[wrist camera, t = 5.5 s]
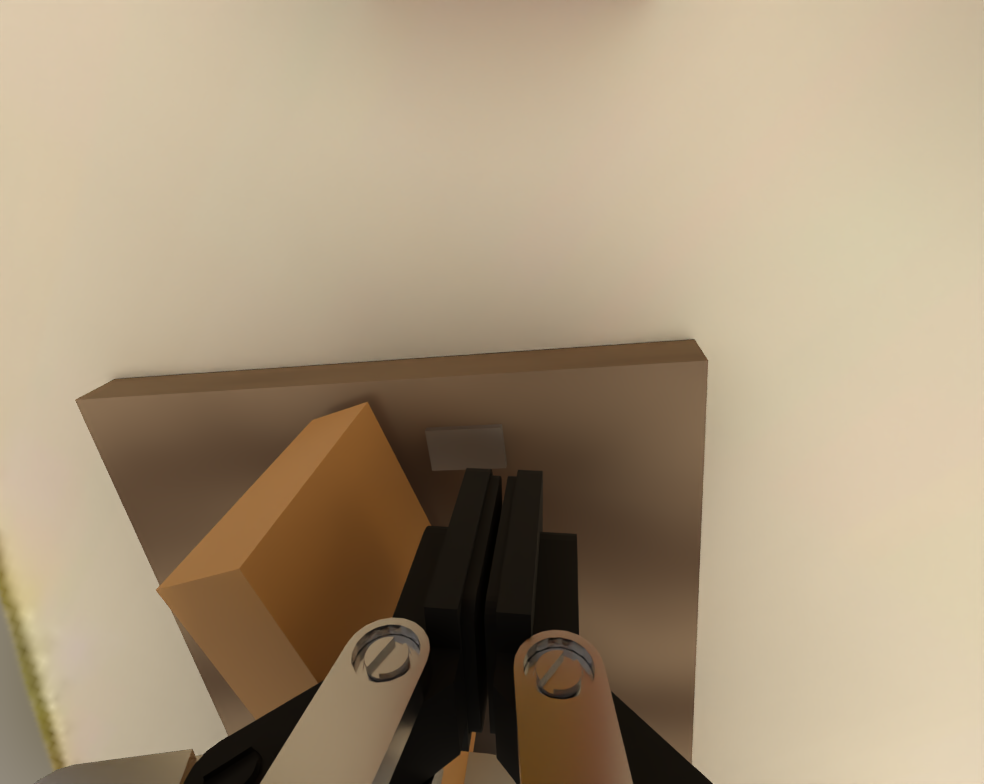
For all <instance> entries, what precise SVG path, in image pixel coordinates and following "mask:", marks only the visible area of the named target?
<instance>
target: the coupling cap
mask: <svg viewBox="0 0 984 784" xmlns="http://www.w3.org/2000/svg"><path fill="white" fill-rule="evenodd" d="M427 526H431V524H430V522H429V520H428V518H427V516H426V514H425V512H424V510H423V508H422V507H421V505H420V503H419V501H418V499H417V497H416V495H415V493H414V491H413V489H412V487H411V485H410V483H409V481H408V479H407V477H406V475H405V473H404V472H403V470H402V468H401V466H400V464H399V462H398V460H397V458H396V456H395V454H394V452H393V450H392V448H391V446H390V444H389V442H388V440H387V438H386V437H385V435H384V433H383V431H382V429H381V427H380V425H379V423H378V421H377V419H376V417H375V415H374V413H373V411H372V409H371V407H370V405H369V403H368V402H365V403H362V404H359V405H356V406H353V407H350V408H347V409H344V410H341V411H338V412H335V413H332V414H329V415H326V416H323V417H320V418H317V419H314V420H312V421H311V422H310V423H309V424H308V425H307V426H306V427H305V428H304V429H303V430H302V432H301V433H300V434H299V435H298V436H297V437H296V438H295V439H294V440H293V441H292V442H291V444H290V445H289V446H288V447H287V448H286V449H285V450H284V451H283V452H282V453H281V454H280V456H279V457H278V458H277V459H276V460H275V461H274V462H273V463H272V464H271V465H270V466H269V467H268V469H267V470H266V471H265V472H264V473H263V474H262V475H261V476H260V477H259V478H258V479H257V481H256V482H255V483H254V484H253V485H252V486H251V487H250V488H249V489H248V490H247V491H246V493H245V494H244V495H243V496H242V497H241V498H240V499H239V500H238V501H237V502H236V503H235V504H234V506H233V507H232V508H231V509H230V510H229V511H228V512H227V513H226V514H225V515H224V516H223V518H222V519H221V520H220V521H219V522H218V523H217V524H216V525H215V526H214V527H213V528H212V529H211V531H210V532H209V533H208V534H207V535H206V536H205V537H204V538H203V539H202V540H201V541H200V543H199V544H198V545H197V546H196V547H195V548H194V549H193V550H192V551H191V552H190V553H189V555H188V556H187V557H186V558H185V559H184V560H183V561H182V562H181V563H180V564H179V565H178V566H177V568H176V569H175V570H174V571H173V572H172V573H171V574H170V575H169V576H168V577H167V578H166V580H165V581H164V582H163V583H162V584H161V585H160V586H159V587H158V588H157V589H156V591H157V592H158V593H159V595H160V596H161V597H162V599H163V600H164V601H165V603H166V604H167V605H168V606H169V608H170V609H171V610H172V612H173V613H174V614H175V616H176V617H177V618H178V619H179V621H180V622H181V623H182V625H183V626H184V627H185V629H186V630H187V631H188V632H189V634H190V635H191V636H192V638H193V639H194V640H195V642H196V643H197V644H198V645H199V647H200V648H201V649H202V651H203V652H204V653H205V655H206V656H207V657H208V658H209V660H210V661H211V662H212V664H213V665H214V666H215V668H216V669H217V670H218V671H219V673H220V674H221V675H222V677H223V678H224V679H225V681H226V682H227V683H228V684H229V686H230V687H231V688H232V690H233V691H234V692H235V694H236V695H237V696H238V697H239V699H240V700H241V701H242V703H243V704H244V705H245V707H246V708H247V709H248V710H249V712H250V713H251V714H252V716H253V717H254V718H255V720H257V719H259V718H260V717H262V716H264V715H265V714H267V713H269V712H271V711H272V710H274V709H276V708H277V707H279V706H281V705H282V704H284V703H286V702H287V701H289V700H291V699H293V698H294V697H296V696H298V695H299V694H301V693H303V692H304V691H306V690H308V689H310V688H311V687H313V686H315V685H316V684H318V683H320V682H321V681H323V680H325V678H326V676H327V675H328V673H329V672H330V670H331V668H332V667H333V665H334V663H335V662H336V660H337V659H338V657H339V655H340V654H341V652H342V651H343V649H344V647H345V646H346V644H347V643H348V641H349V640H350V639H351V638H352V637H353V635H354V634H355V633H356V632H358V631H359V630H360V629H362V628H363V627H364V626H366V625H368V624H370V623H372V622H375V621H377V620H381V619H386V618H392V617H393V614H394V612H395V609H396V606H397V603H398V601H399V598H400V595H401V592H402V590H403V587H404V584H405V582H406V579H407V576H408V573H409V571H410V568H411V565H412V562H413V560H414V557H415V554H416V552H417V549H418V546H419V543H420V541H421V538H422V535H423V532H424V530H425V528H426V527H427ZM475 736H476V732H472V735H471V742H470V748H469V752H466V751H461V754H460V755H459V756H458V757H456V758H455V759H454V760H453V761H451V762H450V763H449V764H447V765H446V766H445V767H444V768H443V771H444V772H443V777H442V782H441V784H516V783H515V781H514V780H513V779H512V777H511V776H510V775H509V774H508V772H507V771H506V770H505V768H504V767H503V766H502V765H501V763H500V762H499V761H498V760H497V758H496V755H493V754H487V753H476V752H473V749H474V742H475Z"/></svg>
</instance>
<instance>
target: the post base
mask: <svg viewBox="0 0 984 784" xmlns="http://www.w3.org/2000/svg"><path fill="white" fill-rule="evenodd" d="M707 374H708V360H707V358H706V356H705V355H704V353H703V352H702V350H701V349H700V347H699V346H698V344H697V343H696V341H695V340H682V341H667V342H653V343H638V344H623V345H609V346H594V347H579V348H565V349H550V350H535V351H521V352H506V353H491V354H477V355H462V356H447V357H433V358H418V359H404V360H389V361H374V362H360V363H345V364H330V365H316V366H301V367H286V368H272V369H257V370H242V371H228V372H213V373H198V374H184V375H169V376H155V377H140V378H125V379H114V380H112V381H110V382H108V383H106V384H104V385H103V386H101V387H99V388H97V389H95V390H93V391H91V392H89V393H87V394H85V395H83V396H82V397H80V398H78V399H76V400H75V401H76V403H77V405H78V407H79V409H80V412H81V414H82V416H83V418H84V420H85V423H86V425H87V427H88V429H89V431H90V434H91V436H92V438H93V440H94V442H95V444H96V447H97V449H98V451H99V453H100V455H101V458H102V460H103V462H104V464H105V466H106V469H107V471H108V473H109V475H110V477H111V480H112V482H113V484H114V486H115V488H116V490H117V493H118V495H119V497H120V499H121V501H122V504H123V506H124V508H125V510H126V512H127V515H128V517H129V519H130V521H131V523H132V525H133V528H134V530H135V532H136V534H137V536H138V539H139V541H140V543H141V545H142V547H143V550H144V552H145V554H146V556H147V558H148V561H149V563H150V565H151V567H152V569H153V571H154V574H155V576H156V578H157V580H158V582H159V585H161V584H162V583H163V582H164V581H165V580H166V578H167V577H168V576H169V575H170V574H171V573H172V572H173V571H174V570H175V569H176V568H177V566H178V565H179V564H180V563H181V562H182V561H183V560H184V559H185V558H186V557H187V556H188V555H189V553H190V552H191V551H192V550H193V549H194V548H195V547H196V546H197V545H198V544H199V543H200V541H201V540H202V539H203V538H204V537H205V536H206V535H207V534H208V533H209V532H210V531H211V529H212V528H213V527H214V526H215V525H216V524H217V523H218V522H219V521H220V520H221V519H222V518H223V516H224V515H225V514H226V513H227V512H228V511H229V510H230V509H231V508H232V507H233V506H234V504H235V503H236V502H237V501H238V500H239V499H240V498H241V497H242V496H243V495H244V494H245V493H246V491H247V490H248V489H249V488H250V487H251V486H252V485H253V484H254V483H255V482H256V481H257V479H258V478H259V477H260V476H261V475H262V474H263V473H264V472H265V471H266V470H267V469H268V467H269V466H270V465H271V464H272V463H273V462H274V461H275V460H276V459H277V458H278V457H279V456H280V454H281V453H282V452H283V451H284V450H285V449H286V448H287V447H288V446H289V445H290V444H291V442H292V441H293V440H294V439H295V438H296V437H297V436H298V435H299V434H300V433H301V432H302V430H303V429H304V428H305V427H306V426H307V425H308V424H309V423H310V422H311V421H312V420H314V419H317V418H320V417H323V416H326V415H329V414H332V413H335V412H338V411H341V410H344V409H347V408H350V407H353V406H356V405H359V404H362V403H365V402H368V403H369V405H370V407H371V409H372V411H373V413H374V415H375V417H376V419H377V421H378V423H379V425H380V427H381V429H382V431H383V433H384V435H385V437H386V438H387V440H388V442H389V444H390V446H391V448H392V450H393V452H394V454H395V456H396V458H397V460H398V462H399V464H400V466H401V468H402V470H403V472H404V473H405V475H406V477H407V479H408V481H409V483H410V485H411V487H412V489H413V491H414V493H415V495H416V497H417V499H418V501H419V503H420V505H421V507H422V508H423V510H424V512H425V514H426V516H427V518H428V520H429V522H430V524H431V526H442V527H448V526H449V523H450V519H451V516H452V513H453V510H454V506H455V503H456V500H457V497H458V493H459V490H460V487H461V484H462V480H463V477H464V474H465V471H466V468H484V469H492V472H493V475H494V476H501V479H502V505H503V500H504V494H505V489H506V483H507V478H508V476H517V472H518V470H535V471H543V532H554V533H572V534H577V557H578V604H579V635H580V636H581V637H583V638H584V639H586V640H587V641H589V642H590V643H591V644H592V645H593V646H594V647H595V648H596V650H597V651H598V652H599V653H600V656H601V658H602V660H603V663H604V666H605V670H606V674H607V678H608V682H609V686H610V690H611V691H612V692H613V693H614V694H615V695H616V696H617V697H618V698H620V699H621V700H622V701H623V702H624V703H625V704H626V705H627V706H628V707H629V708H630V709H632V710H633V711H634V712H635V713H636V714H637V715H638V716H639V717H640V718H641V719H643V720H644V721H645V722H646V723H647V724H648V725H649V726H650V727H651V728H652V729H653V730H655V731H656V732H657V733H658V734H659V735H660V736H661V737H662V738H663V739H664V740H666V741H667V742H668V743H669V744H670V745H671V746H672V747H673V748H674V749H675V750H676V751H678V752H679V753H680V754H681V755H682V756H683V757H684V758H685V759H686V760H687V761H689V762H690V763H691V764H692V740H693V715H694V691H695V666H696V642H697V618H698V593H699V569H700V544H701V520H702V496H703V471H704V447H705V422H706V398H707ZM171 611H172V610H171ZM172 613H173V612H172ZM173 615H174V617H175V620H176V622H177V624H178V626H179V628H180V631H181V633H182V635H183V637H184V639H185V642H186V644H187V646H188V648H189V650H190V653H191V655H192V657H193V659H194V661H195V663H196V666H197V668H198V670H199V672H200V674H201V677H202V679H203V681H204V683H205V685H206V688H207V690H208V692H209V694H210V696H211V698H212V701H213V703H214V705H215V707H216V709H217V712H218V714H219V716H220V718H221V720H222V723H223V725H224V727H225V729H226V731H227V734H228V736H230V735H232V734H233V733H235V732H237V731H238V730H240V729H242V728H243V727H245V726H247V725H248V724H250V723H252V722H254V721H255V718H254V717H253V716H252V714H251V713H250V712H249V710H248V709H247V708H246V707H245V705H244V704H243V703H242V701H241V700H240V699H239V697H238V696H237V695H236V694H235V692H234V691H233V690H232V688H231V687H230V686H229V684H228V683H227V682H226V681H225V679H224V678H223V677H222V675H221V674H220V673H219V671H218V670H217V669H216V668H215V666H214V665H213V664H212V662H211V661H210V660H209V658H208V657H207V656H206V655H205V653H204V652H203V651H202V649H201V648H200V647H199V645H198V644H197V643H196V642H195V640H194V639H193V638H192V636H191V635H190V634H189V632H188V631H187V630H186V629H185V627H184V626H183V625H182V623H181V622H180V621H179V619H178V618H177V617H176V616H175V614H174V613H173ZM473 752H476V753H487V754H493V755H496V737H495V734H491V733H490V722H489V703H488V699H487V706H486V713H485V720H484V726H483V731H482V733H479V732H476V736H475V742H474V749H473Z"/></svg>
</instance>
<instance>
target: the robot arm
mask: <svg viewBox="0 0 984 784" xmlns="http://www.w3.org/2000/svg"><path fill="white" fill-rule="evenodd" d="M487 699H488V703H489V722H490V733H491V734H495V737H496V758H497V760H498V761H499V762H500V763H501V765H502V766H503V767H504V768H505V770H506V771H507V772H508V774H509V775H510V776H511V777H512V779H513V780H514V781H515V783H516V784H713V783H711V782H710V781H709V780H708V779H707V778H706V777H705V776H704V775H703V774H702V773H701V772H699V771H698V770H697V769H696V768H695V767H694V766H693V765H692V764H691V763H690V762H689V761H687V760H686V759H685V758H684V757H683V756H682V755H681V754H680V753H679V752H678V751H676V750H675V749H674V748H673V747H672V746H671V745H670V744H669V743H668V742H667V741H666V740H664V739H663V738H662V737H661V736H660V735H659V734H658V733H657V732H656V731H655V730H653V729H652V728H651V727H650V726H649V725H648V724H647V723H646V722H645V721H644V720H643V719H641V718H640V717H639V716H638V715H637V714H636V713H635V712H634V711H633V710H632V709H630V708H629V707H628V706H627V705H626V704H625V703H624V702H623V701H622V700H621V699H620V698H618V697H617V696H616V695H615V694H614V693H613V692H612V691H611V690H610V686H609V682H608V678H607V674H606V670H605V666H604V663H603V660H602V658H601V656H600V653H599V652H598V651H597V650H596V648H595V647H594V646H593V645H592V644H591V643H590V642H589V641H587V640H586V639H584V638H583V637H581V636H580V635H579V604H578V557H577V534H572V533H554V532H543V471H535V470H518V472H517V476H508V478H507V483H506V489H505V494H504V500H503V505H502V479H501V476H494V475H493V472H492V469H484V468H466V471H465V474H464V477H463V480H462V484H461V487H460V490H459V493H458V497H457V500H456V503H455V506H454V510H453V513H452V516H451V519H450V523H449V526H448V527H442V526H427V527H426V528H425V530H424V532H423V535H422V538H421V541H420V543H419V546H418V549H417V552H416V554H415V557H414V560H413V562H412V565H411V568H410V571H409V573H408V576H407V579H406V582H405V584H404V587H403V590H402V592H401V595H400V598H399V601H398V603H397V606H396V609H395V612H394V614H393V617H392V618H386V619H381V620H377V621H375V622H372V623H370V624H368V625H366V626H364V627H363V628H362V629H360V630H359V631H358V632H356V633H355V634H354V635H353V637H352V638H351V639H350V640H349V641H348V643H347V644H346V646H345V647H344V649H343V651H342V652H341V654H340V655H339V657H338V659H337V660H336V662H335V663H334V665H333V667H332V668H331V670H330V672H329V673H328V675H327V676H326V678H325V680H323V681H321V682H320V683H318V684H316V685H315V686H313V687H311V688H310V689H308V690H306V691H304V692H303V693H301V694H299V695H298V696H296V697H294V698H293V699H291V700H289V701H287V702H286V703H284V704H282V705H281V706H279V707H277V708H276V709H274V710H272V711H271V712H269V713H267V714H265V715H264V716H262V717H260V718H259V719H257V720H255V721H254V722H252V723H250V724H248V725H247V726H245V727H243V728H242V729H240V730H238V731H237V732H235V733H233V734H232V735H230V736H228V737H226V738H225V739H223V740H221V741H220V742H219V743H217V744H216V745H215V746H213V747H212V748H210V749H209V750H208V751H206V753H205V754H204V755H197V756H195V754H194V752H193V749H189V750H181V751H174V752H166V753H159V754H151V755H143V756H136V757H128V758H121V759H113V760H106V761H98V762H91V763H83V764H76V765H72V766H68V767H65V768H61V769H58V770H55V771H54V772H52V773H50V774H48V775H47V776H45V777H43V778H42V779H40V780H38V781H37V782H35V783H34V784H441V782H442V777H443V772H444V771H443V768H444V767H445V766H446V765H447V764H449V763H450V762H451V761H453V760H454V759H455V758H456V757H458V756H459V755H460V754H461V751H466V752H469V748H470V742H471V735H472V732H479V733H482V731H483V726H484V720H485V713H486V706H487Z"/></svg>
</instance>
